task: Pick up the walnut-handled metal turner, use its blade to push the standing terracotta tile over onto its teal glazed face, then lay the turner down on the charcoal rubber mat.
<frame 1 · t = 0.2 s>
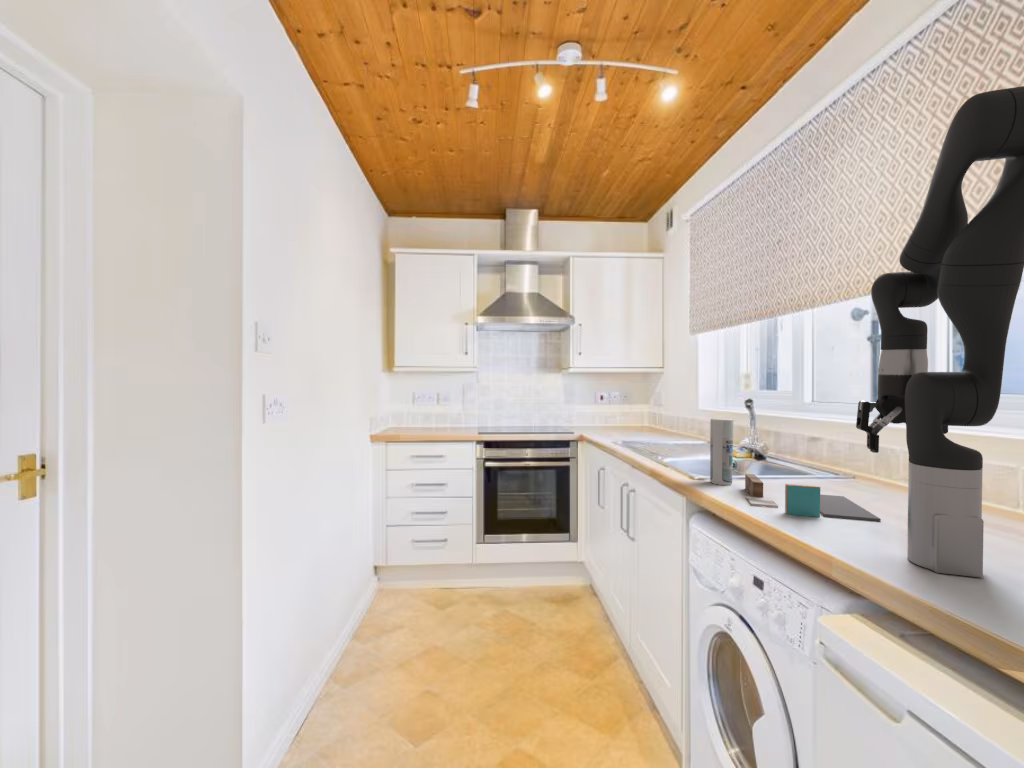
hand: (899, 453, 92), 17 cm above the countertop, tool pointing down, fingers open, 8 cm apart
turner: (753, 494, 129), on the countertop
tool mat: (834, 506, 116), on the countertop
tile: (802, 515, 108), on the countertop
spray can: (721, 483, 142), on the countertop
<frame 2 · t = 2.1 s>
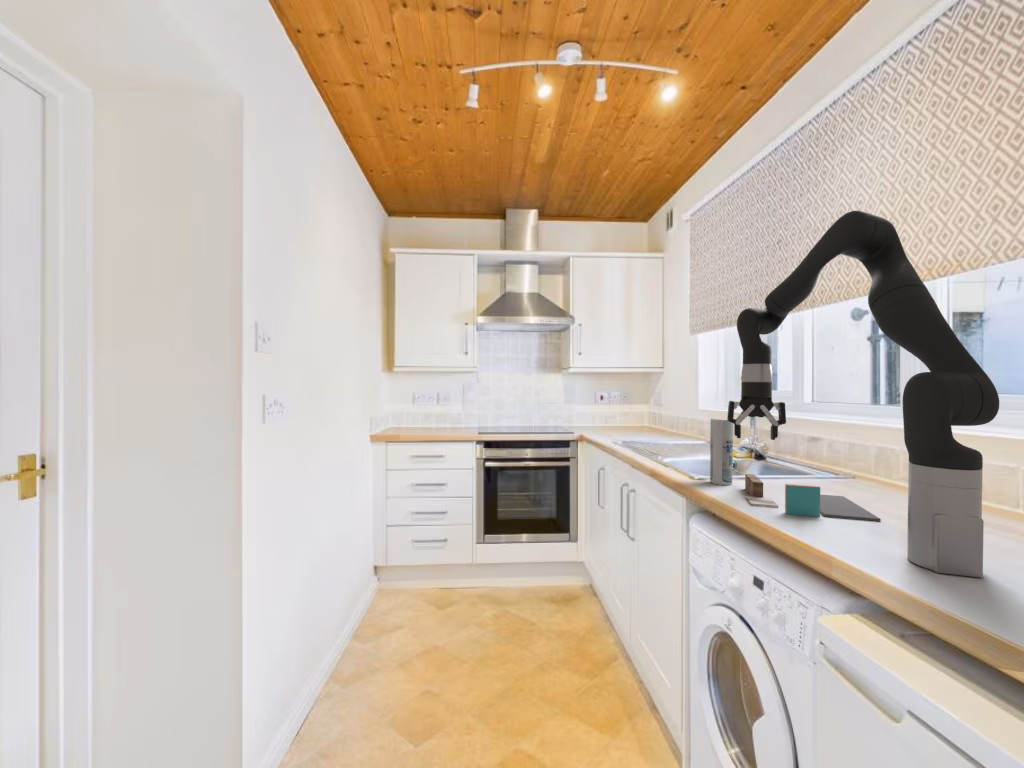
hand: (755, 438, 127), 16 cm above the countertop, tool pointing down, fingers open, 8 cm apart
nothing on the countertop moved.
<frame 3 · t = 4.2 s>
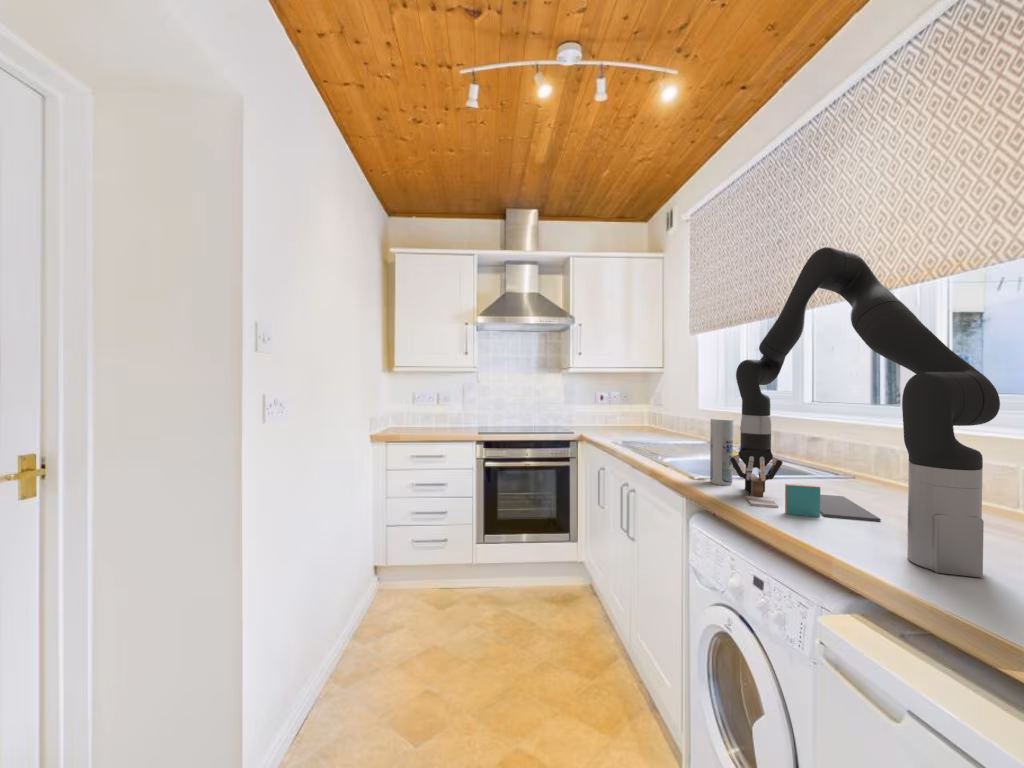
hand: (754, 493, 127), 1 cm above the countertop, tool pointing down, fingers closed on turner, 2 cm apart
turner: (753, 493, 129), on the countertop, touching gripper
everything else where it was.
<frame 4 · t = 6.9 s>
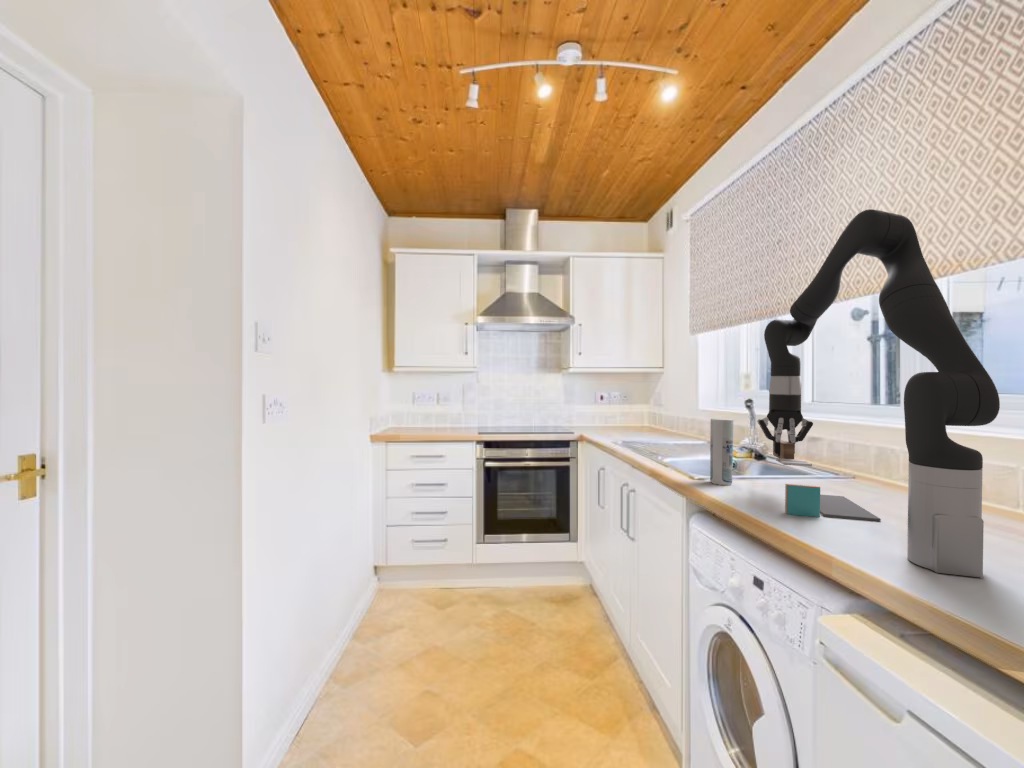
hand: (784, 455, 125), 11 cm above the countertop, tool pointing down, fingers closed on turner
turner: (783, 458, 126), point 11 cm above the countertop, touching gripper
everything else where it was.
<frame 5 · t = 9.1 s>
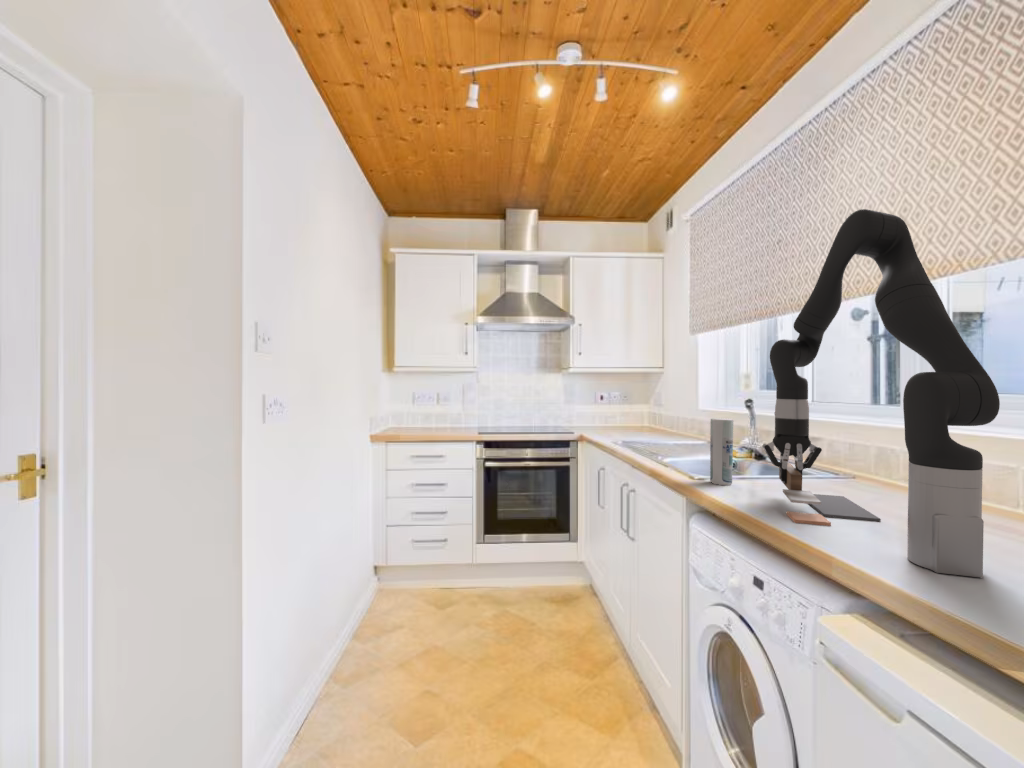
hand: (791, 483, 118), 5 cm above the countertop, tool pointing down, fingers closed on turner
turner: (789, 485, 119), point 5 cm above the countertop, tilted 5°, touching gripper
tile: (803, 515, 108), on the countertop, tilted 90°
everything else where it was.
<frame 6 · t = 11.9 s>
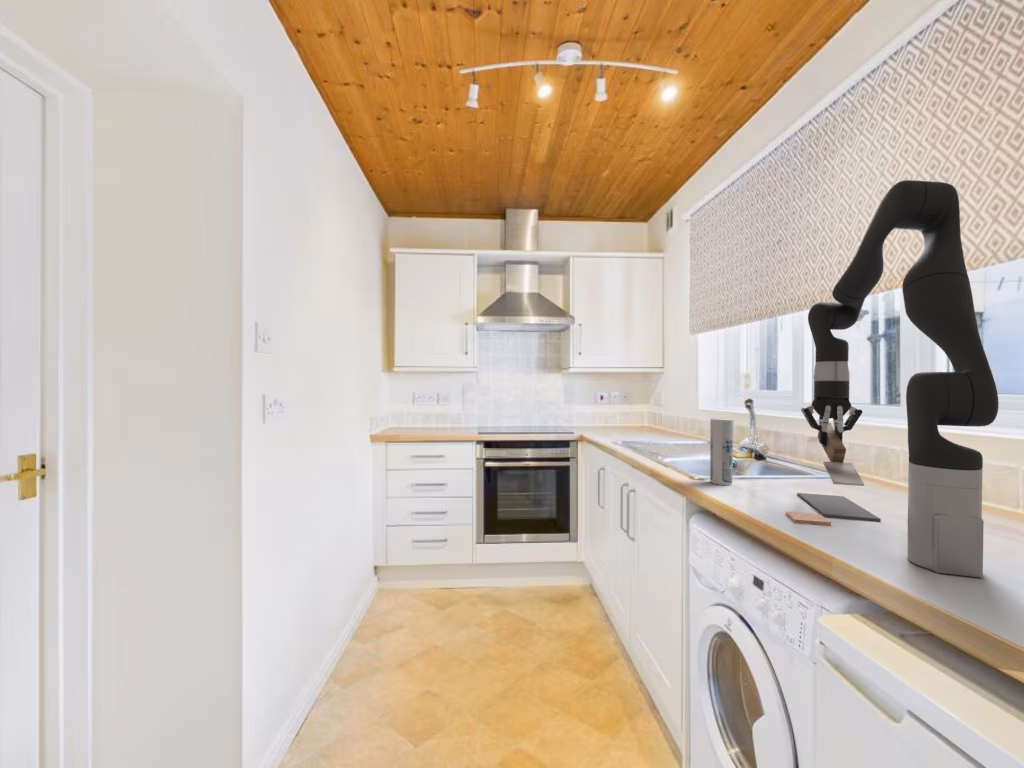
hand: (830, 446, 118), 15 cm above the countertop, tool pointing down, fingers closed on turner
turner: (829, 450, 119), point 14 cm above the countertop, tilted 28°, touching gripper
everything else where it was.
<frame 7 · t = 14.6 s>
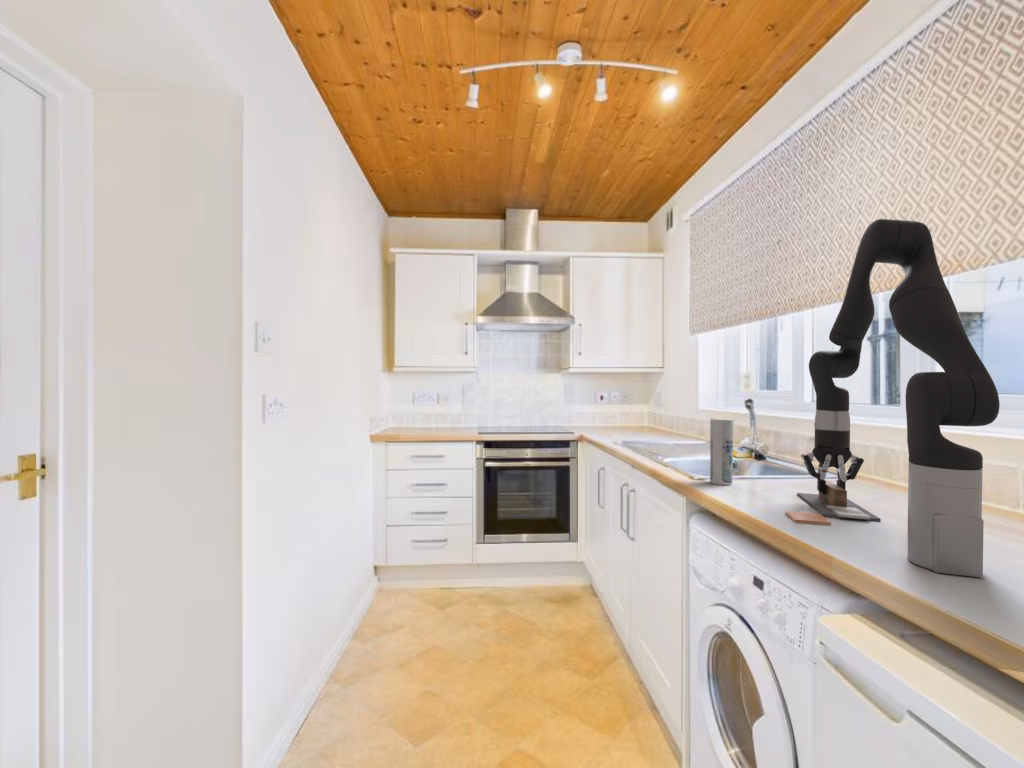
hand: (831, 494, 118), 3 cm above the countertop, tool pointing down, fingers open, 3 cm apart
turner: (831, 502, 117), point 1 cm above the countertop, touching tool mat
everything else where it was.
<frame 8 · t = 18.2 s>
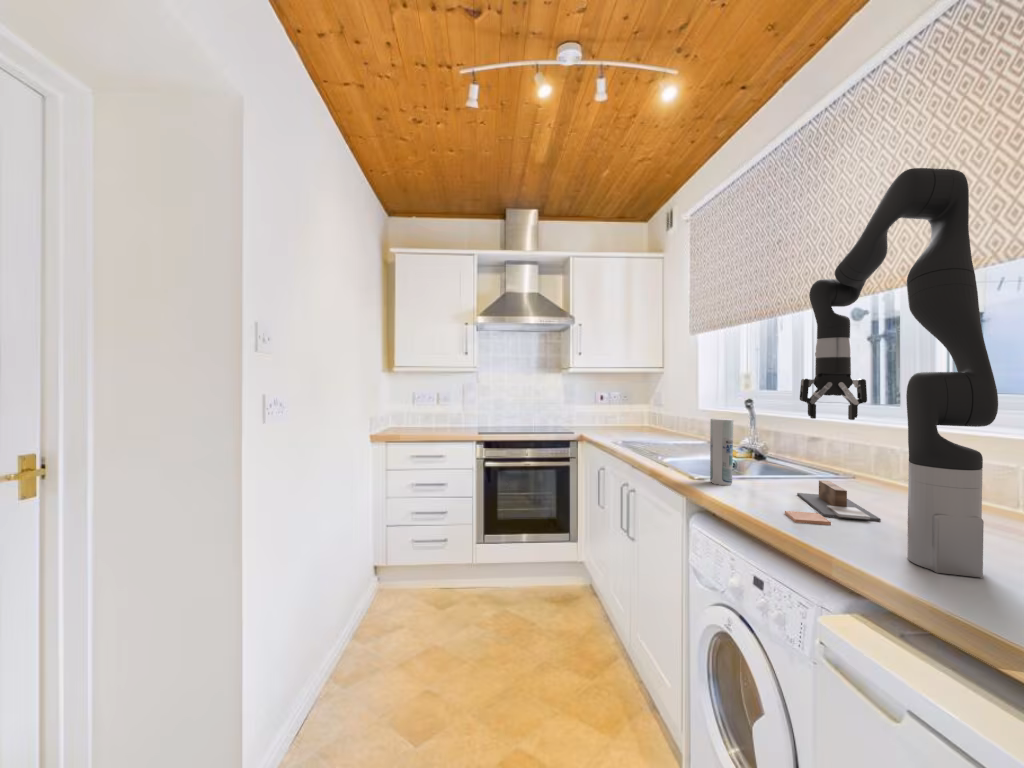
hand: (832, 419, 118), 22 cm above the countertop, tool pointing down, fingers open, 8 cm apart
nothing on the countertop moved.
at the end: tile tilted 90°; turner inside the target area on the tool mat (1.3 cm from its centre), point 0.6 cm above the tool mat's base; the gripper is holding nothing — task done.
